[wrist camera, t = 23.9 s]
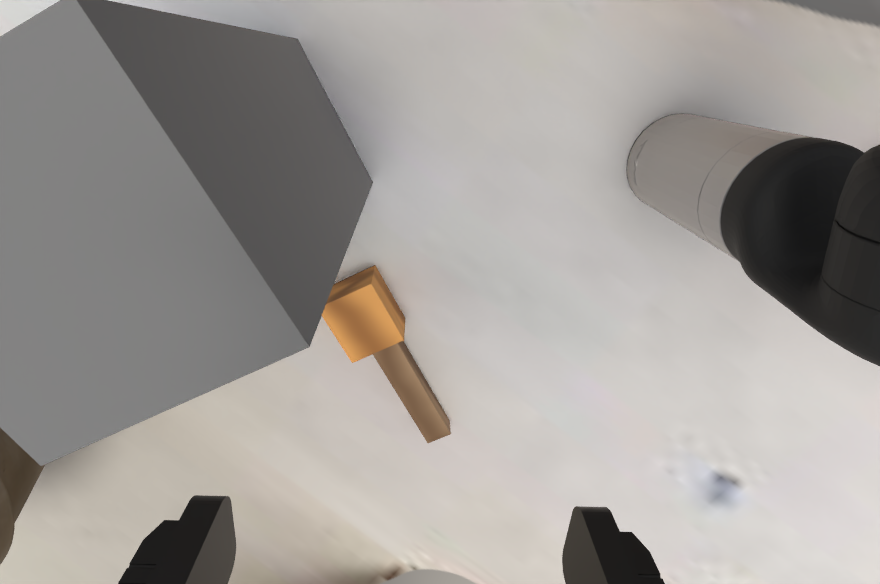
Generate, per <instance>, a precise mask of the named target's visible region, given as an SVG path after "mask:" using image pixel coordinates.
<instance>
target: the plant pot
mask: <svg viewBox="0 0 880 584" xmlns="http://www.w3.org/2000/svg"><path fill="white" fill-rule="evenodd" d="M44 466H45V465H43V466H40V465H39V464H38V463H37V462H36V461H35V460H34V459H33V458H32V457H31V456H30V455H29V454H28V453H26V452H25V451H24V450H23V449H22V448H21V447H20V446H19V445H18V444H17V443H16V442H15V441H14V440H13V439H12V438H11V437H10V436H9V435H8V434H6V433H5V432H4V431H3V430H2V429H1V428H0V564H1V563H2V562H3V560H4V558H5V557H6V555H7V553H8V551H9V549H10V546H11V544H12V540H13V535H14V523H15V521H16V519H17V518H18V516H19V514H20V512H21V510H22V508H23V506H24V504H25V502H26V501H27V499H28V497H29V495H30V493H31V491H32V489H33V487H34V485H35V483H36V481H37V479H38V477H39V475H40V473H41V471H42V469H43V468H44Z"/></svg>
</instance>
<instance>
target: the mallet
mask: <svg viewBox="0 0 880 584" xmlns="http://www.w3.org/2000/svg"><path fill="white" fill-rule="evenodd" d="M322 317H323V318H324V320H325V321H326V323H327V324H328V326H329V328H330V329H331V331H332V332H333V334H334V335H335V337H336V338H337V340H338V342H339V343H340V345H341V346H342V348H343V349H344V351H345V352H346V354H347V356H348V357H349V359H350V360H351V362H352V363H353V362H356V361H358V360H360V359H362V358H365V357H367V356H369V355H372V354H373V355H374V357H375V359H376V360H377V362H378V363H379V365H380V367H381V368H382V370H383V371H384V373H385V375H386V376H387V378H388V380H389V381H390V383H391V384H392V386H393V388H394V389H395V391H396V393H397V394H398V396H399V397H400V399H401V401H402V402H403V404H404V405H405V407H406V409H407V410H408V412H409V414H410V415H411V417H412V418H413V420H414V422H415V423H416V425H417V426H418V428H419V430H420V431H421V433H422V435H423V436H424V438H425V439H426V441H427V443H430V442H432V441H435V440H437V439H440V438H442V437H445V436H447V435H450V434H451V432H450V421H449V419H448V417H447V415H446V414H445V412H444V410H443V409H442V407H441V405H440V403H439V402H438V400H437V398H436V396H435V395H434V393H433V391H432V390H431V388H430V386H429V384H428V383H427V381H426V379H425V378H424V376H423V374H422V372H421V371H420V369H419V367H418V365H417V364H416V362H415V360H414V359H413V357H412V355H411V353H410V352H409V350H408V348H407V347H406V345H405V343H404V330H405V317H404V315H403V313H402V312H401V310H400V308H399V306H398V305H397V303H396V301H395V299H394V298H393V296H392V294H391V292H390V291H389V289H388V287H387V285H386V283H385V282H384V280H383V278H382V276H381V275H380V273H379V271H378V269H377V268H376V266H375V265H374V266H372V267H370V268H368V269H366V270H364V271H362V272H359V273H357V274H355V275H353V276H351V277H349V278H346V279H344V280H342V281H340V282H338V283H336V284H334V285H333V287H332V290H331V292H330V295H329V297H328V300H327V303H326V305H325V308H324V310H323V313H322Z"/></svg>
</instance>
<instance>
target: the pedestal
mask: <svg viewBox="0 0 880 584" xmlns="http://www.w3.org/2000/svg"><path fill="white" fill-rule="evenodd" d="M372 184H373V182H372V180H371V178H370V176H369V174H368V172H367V170H366V168H365V166H364V165H363V163H362V161H361V159H360V157H359V155H358V153H357V151H356V149H355V147H354V146H353V144H352V142H351V140H350V138H349V136H348V134H347V132H346V130H345V128H344V127H343V125H342V123H341V121H340V119H339V117H338V115H337V113H336V111H335V109H334V108H333V106H332V104H331V102H330V100H329V98H328V96H327V94H326V92H325V90H324V89H323V87H322V85H321V83H320V81H319V79H318V77H317V75H316V73H315V71H314V70H313V68H312V66H311V64H310V62H309V60H308V58H307V56H306V54H305V52H304V51H303V49H302V47H301V45H300V43H299V41H298V39H295V38H290V37H285V36H280V35H275V34H270V33H265V32H260V31H255V30H251V29H246V28H241V27H236V26H231V25H226V24H221V23H216V22H211V21H206V20H201V19H196V18H191V17H186V16H181V15H176V14H171V13H167V12H162V11H157V10H152V9H147V8H142V7H137V6H132V5H127V4H122V3H117V2H112V1H107V0H60V1H58V2H57V3H55V4H54V5H52V6H50V7H49V8H47V9H45V10H44V11H42V12H40V13H39V14H37V15H35V16H34V17H32V18H30V19H29V20H27V21H25V22H24V23H22V24H20V25H19V26H17V27H15V28H14V29H12V30H10V31H9V32H7V33H6V34H4V35H2V36H1V37H0V428H1V429H2V430H3V431H4V432H5V433H6V434H8V435H9V436H10V437H11V438H12V439H13V440H14V441H15V442H16V443H17V444H18V445H19V446H20V447H21V448H22V449H23V450H24V451H25V452H26V453H28V454H29V455H30V456H31V457H32V458H33V459H34V460H35V461H36V462H37V463H38V464H39V465H40V466H43V465H45V464H47V463H49V462H52V461H54V460H56V459H58V458H61V457H63V456H65V455H67V454H70V453H72V452H74V451H76V450H79V449H81V448H83V447H85V446H88V445H90V444H92V443H94V442H97V441H99V440H101V439H103V438H106V437H108V436H110V435H112V434H115V433H117V432H119V431H121V430H124V429H126V428H128V427H130V426H133V425H135V424H137V423H139V422H142V421H144V420H146V419H148V418H151V417H153V416H155V415H157V414H160V413H162V412H164V411H166V410H169V409H171V408H173V407H175V406H178V405H180V404H182V403H184V402H187V401H189V400H191V399H193V398H196V397H198V396H200V395H202V394H205V393H207V392H209V391H211V390H214V389H216V388H218V387H220V386H223V385H225V384H227V383H229V382H232V381H234V380H236V379H238V378H241V377H243V376H245V375H247V374H250V373H252V372H254V371H256V370H259V369H261V368H263V367H265V366H268V365H270V364H272V363H274V362H277V361H279V360H281V359H283V358H286V357H288V356H290V355H292V354H295V353H297V352H299V351H301V350H304V349H306V348H308V347H310V344H311V341H312V339H313V336H314V334H315V331H316V329H317V326H318V323H319V321H320V318H321V316H322V313H323V310H324V308H325V305H326V303H327V300H328V297H329V295H330V292H331V290H332V287H333V284H334V282H335V279H336V277H337V274H338V272H339V269H340V266H341V264H342V261H343V259H344V256H345V253H346V251H347V248H348V246H349V243H350V240H351V238H352V235H353V233H354V230H355V228H356V225H357V222H358V220H359V217H360V215H361V212H362V209H363V207H364V204H365V202H366V199H367V196H368V194H369V191H370V189H371V186H372Z"/></svg>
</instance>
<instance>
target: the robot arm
mask: <svg viewBox="0 0 880 584" xmlns="http://www.w3.org/2000/svg"><path fill="white" fill-rule="evenodd" d="M627 176H628V181H629V184H630V187H631V189H632V190H633V192H634V194H635V195H636V196H637V197H638V198H639V199H640V200H641V201H642V202H644V203H646V204H647V205H649V206H650V207H652V208H654V209H655V210H657V211H658V212H660V213H661V214H663V215H664V216H666V217H668V218H669V219H671V220H673V221H674V222H676V223H677V224H679V225H681V226H682V227H684V228H686V229H687V230H689V231H690V232H692V233H694V234H695V235H697V236H698V237H700V238H702V239H703V240H705V241H707V242H708V243H710V244H711V245H713V246H715V247H716V248H718V249H720V250H721V251H723V252H725V253H726V254H728V255H730V256H731V257H733V258H734V259H736V260H738V261H739V262H740V263H741V265H742V268H743V269H744V271H745V273H746V274H747V275H748V277H749V278H750V279H751V280H752V281H753V282H754V283H755V284H757V285H758V286H759V287H761V288H762V289H763V290H765V291H766V292H767V293H769V294H770V295H771V296H773V297H774V298H775V299H777V300H778V301H779V302H780V303H782V304H783V305H784V306H786V307H787V308H788V309H789V310H791V311H792V312H793V313H795V314H796V315H797V316H798V317H800V318H801V319H802V320H804V321H805V322H806V323H807V324H809V325H810V326H811V327H813V328H814V329H816V330H817V331H818V332H820V333H821V334H822V335H824V336H825V337H827V338H828V339H830V340H831V341H833V342H835V343H836V344H838V345H839V346H841V347H843V348H844V349H846V350H848V351H849V352H851V353H853V354H855V355H857V356H859V357H861V358H863V359H865V360H867V361H869V362H871V363H874V364H876V365H878V366H880V145H878V146H875V147H873V148H871V149H869V150H868V151H866V152H865V153H863V152H862V151H860V150H859V149H857V148H854V147H852V146H850V145H847V144H844V143H840V142H836V141H831V140H826V139H821V138H813V137H808V136H803V135H798V134H792V133H787V132H780V131H775V130H770V129H765V128H759V127H754V126H749V125H744V124H738V123H733V122H728V121H723V120H717V119H713V118H708V117H702V116H697V115H692V114H674V115H670V116H667V117H664V118H661V119H659V120H658V121H656V122H654V123H653V124H651V125H650V126H649V127H648V128H647V129H645V130H644V131H643V132H642V134H641V135H640V136H639V137H638V139H637V140H636V142H635V144H634V145H633V147H632V149H631V152H630V155H629V158H628V164H627ZM235 554H236V538H235V530H234V522H233V514H232V506H231V500H230V498H229V497H228V496H193V497H192V498H191V500H190V501H189V503H188V505H187V507H186V508H185V510H184V512H183V514H182V516H181V518H180V520H179V521H175V520H164V521H163V522H162V523H161V524H160V525H159V526H158V527H157V528H156V529H155V530H154V531H152V532H151V533H150V534H149V535H148V536H147V537H146V538H145V539H144V540H143V541H142V543H141V545H140V546H139V548H138V550H137V552H136V553H135V555H134V557H133V559H132V560H131V562H130V566H129V568H127V569H126V571H125V572H124V574H123V576H122V578H121V579H120V581H119V583H118V584H228V581H229V578H230V575H231V572H232V569H233V565H234V560H235ZM562 563H563V573H564V578H565V582H566V584H665V583H664V581H663V579H661V578H660V573H659V570H658V568H657V566H656V564H655V562H654V560H653V558H652V556H651V554H650V552H649V550H648V549H647V548H646V547H645V546H644V545H643V544H642V543H641V542H640V541H639V539H638V538H637V537H636V536H635V535H634V534H633V533H632V532H620V531H619V529H618V527H617V525H616V522H615V520H614V518H613V515H612V513H611V511H610V510H609V509H608V508H607V507H575V508H574V509H573V512H572V516H571V520H570V524H569V528H568V532H567V537H566V541H565V545H564V549H563V557H562Z"/></svg>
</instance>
